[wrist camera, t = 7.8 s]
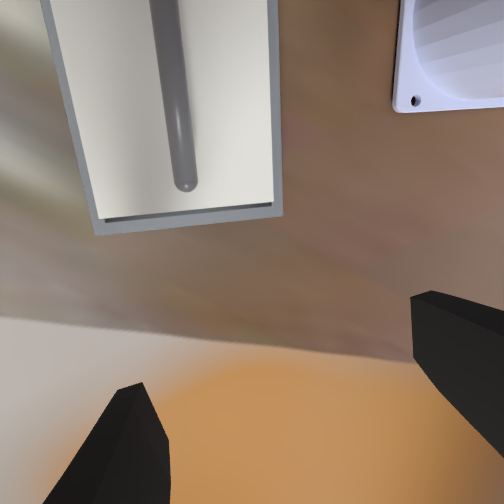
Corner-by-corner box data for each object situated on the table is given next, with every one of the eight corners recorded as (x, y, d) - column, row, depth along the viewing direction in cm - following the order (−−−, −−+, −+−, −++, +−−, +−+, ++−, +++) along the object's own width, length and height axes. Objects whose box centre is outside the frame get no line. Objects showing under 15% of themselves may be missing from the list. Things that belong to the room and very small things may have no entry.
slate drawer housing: (263, -42, 13) (276, -68, 12) (271, 206, 17) (283, 216, 15) (46, -45, 12) (22, -75, 10) (105, 223, 16) (94, 236, 14)
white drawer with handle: (229, -8, 13) (279, -144, 7) (241, 174, 16) (285, 211, 9) (94, -8, 12) (-9, -164, 6) (129, 184, 15) (87, 232, 8)
